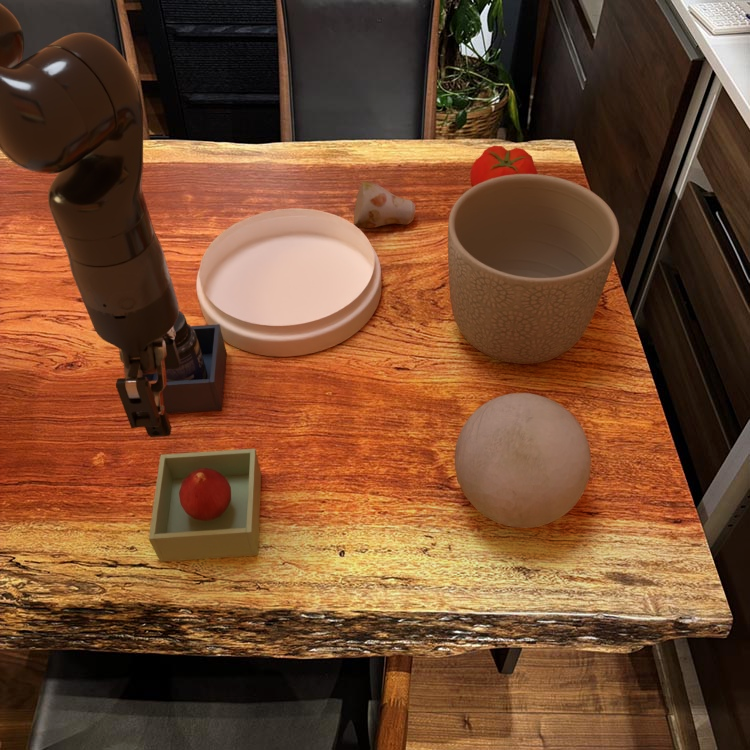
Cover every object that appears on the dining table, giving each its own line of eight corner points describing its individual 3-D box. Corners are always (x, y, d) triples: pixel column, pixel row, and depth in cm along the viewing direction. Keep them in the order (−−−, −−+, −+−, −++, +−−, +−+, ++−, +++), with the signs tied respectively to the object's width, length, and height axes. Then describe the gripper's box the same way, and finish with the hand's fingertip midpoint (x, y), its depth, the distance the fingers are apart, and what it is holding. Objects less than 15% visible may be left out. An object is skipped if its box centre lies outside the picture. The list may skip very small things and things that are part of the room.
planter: (438, 281, 120) (443, 175, 106) (578, 277, 120) (601, 170, 105) (448, 388, 107) (454, 283, 92) (605, 384, 106) (636, 278, 92)
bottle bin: (144, 415, 105) (132, 387, 101) (153, 357, 112) (143, 328, 107) (222, 410, 105) (214, 382, 101) (226, 353, 112) (219, 324, 108)
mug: (421, 235, 128) (392, 199, 120) (368, 250, 132) (337, 217, 124) (422, 197, 131) (393, 160, 123) (370, 214, 135) (339, 179, 128)
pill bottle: (215, 384, 107) (199, 326, 99) (173, 404, 105) (153, 347, 97) (196, 355, 111) (179, 298, 102) (155, 374, 109) (134, 317, 100)
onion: (176, 517, 94) (160, 479, 88) (209, 482, 97) (196, 443, 91) (213, 541, 92) (199, 505, 86) (245, 505, 95) (235, 467, 89)
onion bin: (159, 562, 91) (148, 538, 87) (170, 479, 99) (160, 454, 95) (258, 555, 91) (251, 532, 87) (261, 473, 99) (255, 448, 95)
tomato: (458, 202, 132) (461, 164, 127) (488, 168, 138) (491, 130, 133) (517, 223, 129) (522, 184, 123) (545, 187, 135) (551, 148, 129)
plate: (207, 372, 110) (199, 345, 106) (195, 247, 127) (188, 219, 123) (399, 339, 113) (399, 311, 109) (362, 221, 130) (360, 193, 126)
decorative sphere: (456, 553, 91) (463, 480, 80) (447, 445, 101) (453, 366, 89) (589, 551, 91) (615, 477, 79) (568, 443, 100) (588, 363, 89)
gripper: (94, 227, 72) (137, 348, 85) (63, 343, 63) (116, 460, 76) (177, 223, 73) (208, 344, 85) (158, 338, 63) (196, 455, 76)
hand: (165, 399), depth 80 cm, fingers open, 8 cm apart
